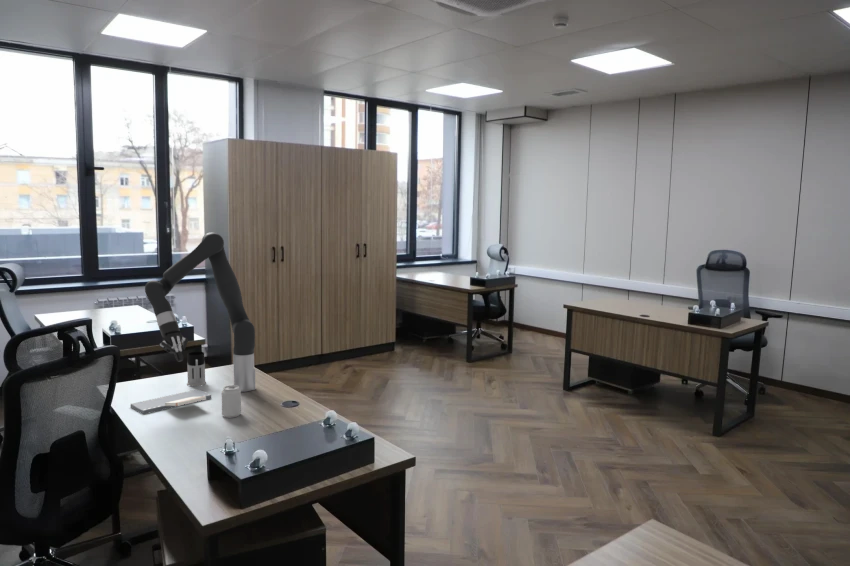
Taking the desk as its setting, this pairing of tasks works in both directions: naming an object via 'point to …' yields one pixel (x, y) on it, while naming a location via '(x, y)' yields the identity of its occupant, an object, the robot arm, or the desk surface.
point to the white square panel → (184, 401)
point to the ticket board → (160, 402)
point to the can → (231, 401)
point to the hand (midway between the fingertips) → (180, 361)
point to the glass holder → (196, 369)
